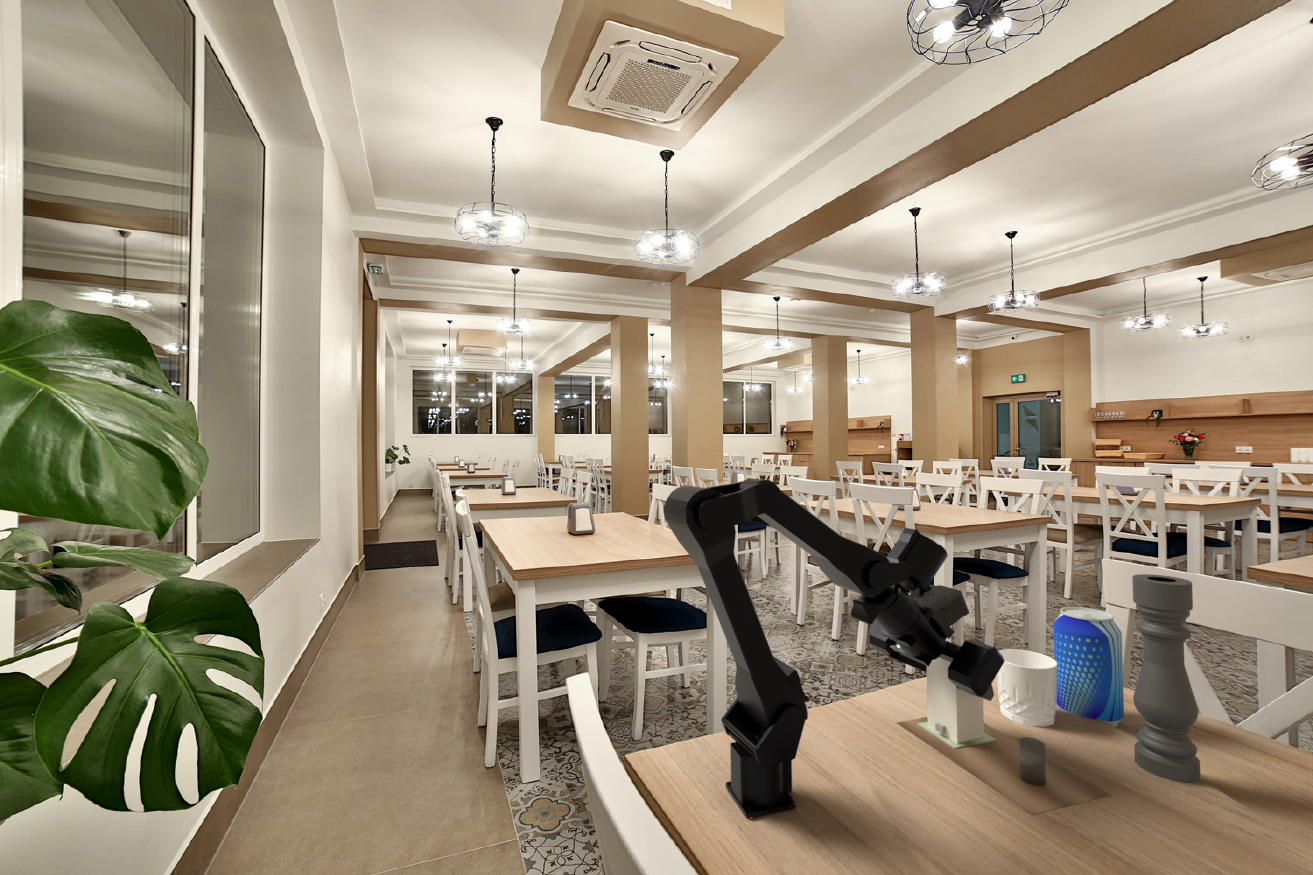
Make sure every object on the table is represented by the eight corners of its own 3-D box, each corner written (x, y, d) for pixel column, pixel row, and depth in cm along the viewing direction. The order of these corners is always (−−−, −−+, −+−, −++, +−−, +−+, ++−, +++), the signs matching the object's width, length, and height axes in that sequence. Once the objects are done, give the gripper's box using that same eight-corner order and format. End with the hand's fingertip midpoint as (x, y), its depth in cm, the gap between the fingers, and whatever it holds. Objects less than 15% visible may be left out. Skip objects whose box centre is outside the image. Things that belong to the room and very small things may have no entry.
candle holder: (1214, 797, 68) (1208, 586, 68) (1154, 791, 69) (1149, 584, 70) (1178, 768, 74) (1173, 574, 74) (1123, 763, 75) (1118, 573, 76)
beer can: (1043, 711, 90) (1041, 609, 90) (1075, 700, 94) (1073, 602, 94) (1104, 735, 82) (1101, 624, 83) (1136, 723, 86) (1133, 616, 86)
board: (1032, 828, 63) (1030, 773, 63) (896, 732, 84) (895, 691, 84) (1112, 807, 66) (1111, 755, 67) (962, 720, 88) (961, 681, 88)
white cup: (998, 731, 84) (996, 662, 84) (995, 708, 91) (993, 645, 91) (1063, 743, 81) (1061, 672, 81) (1055, 719, 88) (1053, 653, 88)
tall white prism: (954, 744, 78) (952, 662, 78) (924, 727, 82) (922, 650, 82) (987, 735, 80) (985, 655, 80) (956, 719, 85) (954, 644, 85)
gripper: (991, 584, 71) (1054, 660, 75) (882, 558, 89) (938, 620, 93) (945, 657, 68) (1013, 733, 72) (842, 615, 86) (901, 677, 90)
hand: (962, 684), depth 82 cm, fingers open, 9 cm apart
